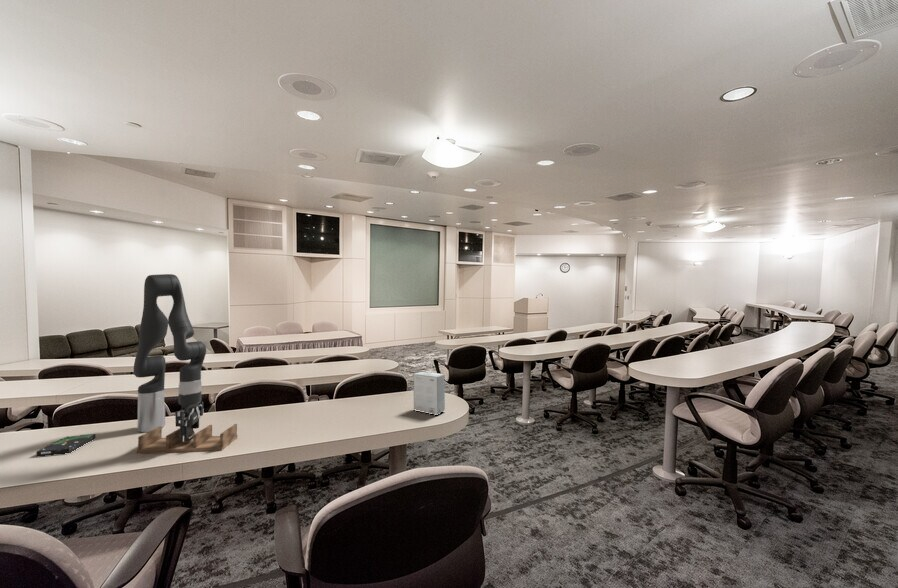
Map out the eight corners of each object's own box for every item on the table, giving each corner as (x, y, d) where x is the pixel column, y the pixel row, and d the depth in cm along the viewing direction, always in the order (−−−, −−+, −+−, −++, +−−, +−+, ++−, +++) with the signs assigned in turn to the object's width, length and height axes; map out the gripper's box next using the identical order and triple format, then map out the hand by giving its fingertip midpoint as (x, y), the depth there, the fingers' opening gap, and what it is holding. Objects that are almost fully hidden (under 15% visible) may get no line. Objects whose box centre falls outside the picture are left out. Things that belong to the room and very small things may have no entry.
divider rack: (159, 440, 147) (159, 426, 147) (237, 438, 149) (237, 423, 150) (137, 453, 135) (137, 437, 135) (222, 450, 137) (222, 434, 138)
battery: (191, 441, 139) (191, 413, 139) (180, 442, 138) (180, 413, 138) (199, 435, 146) (199, 407, 146) (188, 436, 145) (188, 408, 145)
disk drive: (70, 455, 135) (96, 439, 149) (70, 448, 135) (96, 433, 149) (35, 458, 132) (65, 442, 146) (35, 451, 132) (65, 436, 146)
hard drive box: (445, 412, 183) (445, 374, 183) (437, 416, 177) (437, 377, 177) (421, 407, 192) (421, 371, 192) (412, 411, 185) (413, 373, 185)
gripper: (191, 386, 149) (191, 425, 149) (167, 396, 135) (167, 439, 135) (210, 386, 150) (210, 425, 150) (188, 395, 135) (188, 438, 135)
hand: (189, 431), depth 142 cm, fingers closed on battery, 7 cm apart
